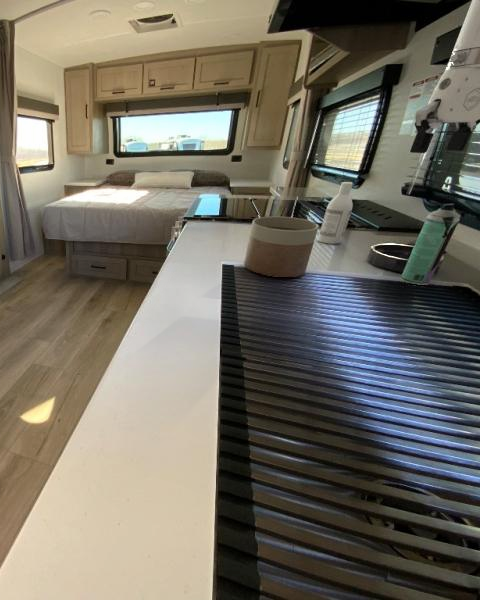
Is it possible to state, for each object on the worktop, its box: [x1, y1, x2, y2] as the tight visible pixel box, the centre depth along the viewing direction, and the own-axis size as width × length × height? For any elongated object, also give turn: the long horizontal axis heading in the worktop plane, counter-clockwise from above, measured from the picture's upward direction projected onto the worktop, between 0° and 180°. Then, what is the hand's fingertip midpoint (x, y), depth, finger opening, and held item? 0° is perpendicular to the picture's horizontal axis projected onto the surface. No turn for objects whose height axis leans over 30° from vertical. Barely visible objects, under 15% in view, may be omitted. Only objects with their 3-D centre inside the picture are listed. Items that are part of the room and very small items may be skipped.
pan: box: [366, 243, 445, 273], centre depth 96 cm, size 15×15×4 cm
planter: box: [243, 215, 319, 278], centre depth 94 cm, size 16×16×14 cm
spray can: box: [399, 203, 461, 286], centre depth 82 cm, size 6×6×20 cm
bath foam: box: [317, 181, 354, 245], centre depth 113 cm, size 7×7×20 cm
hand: (436, 151), depth 76 cm, fingers open, 9 cm apart
